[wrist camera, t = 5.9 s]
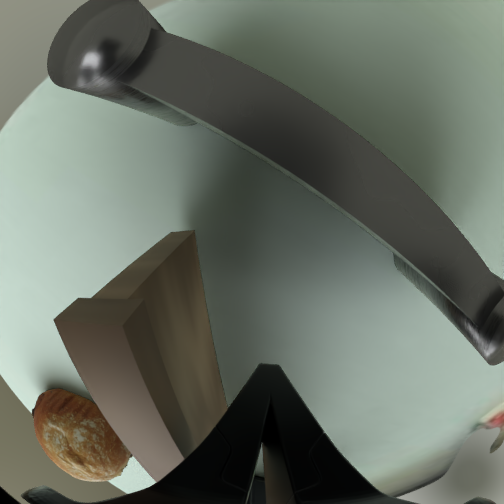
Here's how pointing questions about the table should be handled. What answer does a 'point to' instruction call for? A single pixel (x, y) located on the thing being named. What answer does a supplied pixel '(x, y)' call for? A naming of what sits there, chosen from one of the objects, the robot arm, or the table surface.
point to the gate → (150, 354)
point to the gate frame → (282, 148)
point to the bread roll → (78, 436)
